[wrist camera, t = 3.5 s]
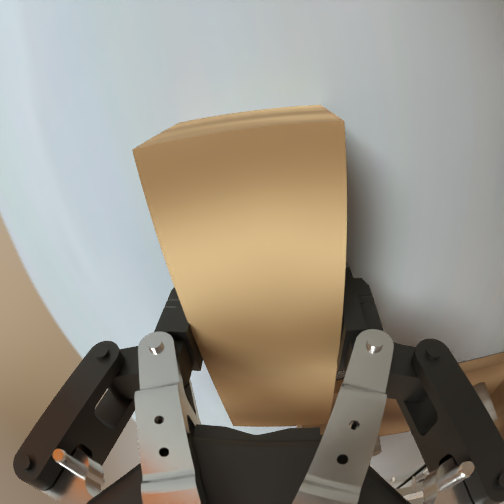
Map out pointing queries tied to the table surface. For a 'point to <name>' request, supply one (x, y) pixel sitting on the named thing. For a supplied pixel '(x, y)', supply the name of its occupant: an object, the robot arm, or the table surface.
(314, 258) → the golden rectangular block
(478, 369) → the peg stand
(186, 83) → the table surface
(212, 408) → the table surface
